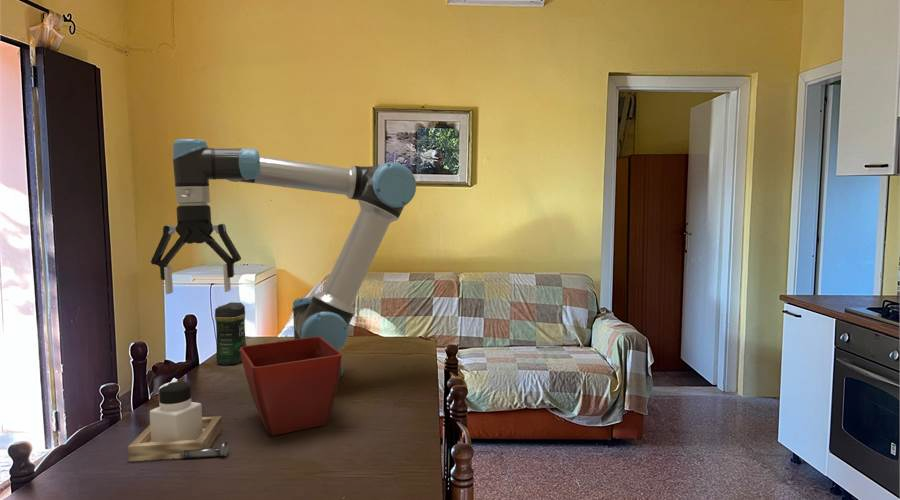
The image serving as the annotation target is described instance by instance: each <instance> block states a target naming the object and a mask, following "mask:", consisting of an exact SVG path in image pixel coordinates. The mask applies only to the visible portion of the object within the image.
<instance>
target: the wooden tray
mask: <svg viewBox="0 0 900 500" xmlns="http://www.w3.org/2000/svg"><path fill="white" fill-rule="evenodd" d="M202 426H203V432H202V434H201V435H200V436H199V437H198V438H196V439H194V440H183V441H166V442H151V429H150V424H149V425H148V426H147V427H146V428H145V429H144V430H143V431H142V432H141V433H140V434H139V435H138V436H137V437H136V438H135V439H134V440H133V441H132V442H131V443H130V444H129V445H128V446H127V453H128V454H127V456H128V462H143V461H145V460H146V461H158V460H161V459H162V460H174V459H175V460H176V459H183V458H182V457H181V456H180V453H181V452H182V451H183V450H196V449H207V448H211V446H212V445H213V443H214V442H215V440H216V439H217V437H218V436H219V434H220V433H221V431H222V429H223V423H222V416H221V415H218V416H217V415H215V416H202ZM173 458H174V459H173Z"/></svg>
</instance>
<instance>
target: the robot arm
mask: <svg viewBox="0 0 900 500" xmlns="http://www.w3.org/2000/svg"><path fill="white" fill-rule="evenodd" d="M172 161H173V162H172V164H173V176H174V185H175V187H174V193H175V203H176V204H178V206H176V222H177V223H176V226H174V225H173V226H172V225H170V224H168V225H164V226H163V228H162V235H161V238H160V240H159V243H158V245H157V247H156V249H155V251H154V253H153V256H152V257H151V260H150V263H151V265H155V266H158V267H159V272H160V279H161V280H162V281H164V287H165V288H164V289H165V295H170V294H173V292H174V289H173V288H174V287H173V271H172V270H173V269H172V265H169V263H170V262H171V261H172V259H174V257H175V256H176V255H177V253H179V251H180V250H181V249H182V247H183V246H184V245H185V244H189V245H190V244H203V243H205V244H206V245H208V246H209V247H210V248H211V249H212V250H213V251H214V252H215V253H216V254H217V255H218V256H219V257H220V259H221V260H223V262H224V263H225V264H222V266H223V267H222V268H223V284H224V285H223V286H224V288H223V289H224V292H225V293H228V292H230V291H231V289H232V288H231V278H234V276H235V268H234V265H235V263H237V262H239V261H241V260H242V257H241V255H240V253H239V252H238V250H237V248H236V247H235V244H234V243H233V242H232V240H231V237H230V236H229V234H228V232H227V227H226V224H225V223H219V224H217V225H216V224H215V225H213V223H212V212H211V211H212V210H211V206H210V205H209V204H210V202H211V195H210V184H209V182H210V180H226V181H229V182H234V183H235V182H236V183H238V182H240V183H246V184H247V183H248V184H258V185H266V186H273V187H281V188H288V189H297V190H304V191H305V190H306V191H312V192H320V193H329V194H335V195H345V196H346V198H348V199H349V200H355V201H358V204H359V207H360V210H359V213H358V215H357V216H356V218H355V221H354V223H353V225H352V228H351V229H350V231H349V234H348V236H347V238H346V240H345V242H344V244H343V246H342V248H341V250H340V253H339V255H338V257H337V260H336V262H335V263H334V265H333V268H332V270H331V271H330V273H329V276H328V278H327V280H326V283H325V285H324V287H323V289H322V290H321V291H320V292H317V293H315V294H314V295H313V296H308V297H300V298H299V297H298V298H295V299H294V300H293V301H292V310H291V311H292V313H293V314H292V315H293V317H292V318H293V340H295V339H303V338H311V337H321V338H323V339H324V340H325V341H326V342H328V343H329V344H330V345H331V346H332V347H334V348H335V349H336V350H338V351H339V352H340V350H342V348H343V347H344V346H345V345H346V343H347V340H348V338H349V326H350V323H351V321H352V319H353V317H354V315H355V309H354V307H353V304H354V301H355V299H356V297H357V295H358V293H359V290H360V288H361V287H362V284H363V281H365V277H366V275H367V273H368V271H369V269H370V267H371V265H372V262H373V261H374V259H375V257H376V255H377V252H378V250H379V248H380V246H381V243H382V241H383V239H384V237H385V235H386V234H387V233H386V232H387V231H388V229H389V227H390V224H392V223H393V222H396V221H398V220H399V218H400V216H401V214H402V211H403V210H404V207H405V206H407V205H408V204H409V203H411V201H412V200H413V198H415V197H414V196H415V195H416V190H417V181H416V178H415V176H414V173H413V172H412V170H411V169H409V167H407V166H406V165H404V164H401V163H399V162H393V161H389V162H388V161H387V162H384V163H381V164H378V165H370V166H360V165H359V166H358V165H351V166H350V167H340V166H333V165H327V164H325V165H324V164H320V163H314V162H313V163H312V162H305V161H299V160H298V161H297V160H291V159H283V158H276V157H270V156H268V157H267V156H264V155H263V156H262V155H260V153H259V150H257V149H256V148H246V147H243V148H214V147H212V148H211V147H208V143H207V141H206V140H205V139H201V138H199V139H198V138H197V139H196V138H195V139H194V138H180V139H176V140H175V141H174V142H173V143H172ZM214 231H215V233H216V234H218V235H219V237H220V238H221V240H222V243H223V244H224V246H225V247H226V249H227V251H228V252H229V253H227V251H225V250H224V248H222V246H221V245H220V244H219V243H218V242H217V241H216V240H215V238H214V237H213V236H212V233H213V232H214ZM175 232H176V233H177V234H178V236H179V238H178V239H176V241H175V243H174V244H173V246H171V248H170V249H169V250H168V252H167V253H166V254H165V255H164V253H165V251H166V249H167V246H168V244H169V242H170V240H171V237H172V235H174V234H175ZM229 254H230V255H229ZM163 255H164V257H163ZM162 257H163V258H162ZM343 376H344V367H343V363H342V362H341V366H340V374H339V379H340V378H342V377H343Z"/></svg>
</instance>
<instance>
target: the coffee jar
mask: <svg viewBox="0 0 900 500" xmlns="http://www.w3.org/2000/svg"><path fill="white" fill-rule="evenodd" d="M214 320H215V330H216V350H215V351H216V354H215V355H216V356H215V357H216V361H215V362H216V363H217V364H219V365H223V366H230V365H236V364H239V363H241V362H242V358H241V352H240V347H243V346H247V339H246V329H245V328H246V327H245V326H246V323H245V322H246V321H245V320H246V306H245V305H244V303H242V302H234V301H233V302H229V303H226V304H223V305H220V306H218V307H216V308H215V309H214Z"/></svg>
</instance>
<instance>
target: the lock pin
mask: <svg viewBox="0 0 900 500" xmlns="http://www.w3.org/2000/svg"><path fill="white" fill-rule="evenodd" d="M228 454H229V443H228V441H226V442H225V441H224V442H221V443H220V446H219V447H210V448H207V449H196V450H183V451H182V452H181V453H180V456H181V457H182V458H181V459H195V458H210V457H211V458H213V457H227V456H228Z"/></svg>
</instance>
